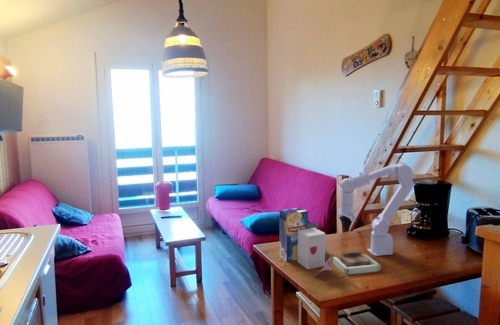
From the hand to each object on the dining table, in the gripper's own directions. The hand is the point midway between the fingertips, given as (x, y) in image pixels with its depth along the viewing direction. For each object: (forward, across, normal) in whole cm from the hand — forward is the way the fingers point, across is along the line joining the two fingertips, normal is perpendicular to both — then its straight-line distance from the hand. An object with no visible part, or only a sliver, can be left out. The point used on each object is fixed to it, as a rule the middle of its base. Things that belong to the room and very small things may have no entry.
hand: (345, 231), depth 175 cm
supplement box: (+10, +12, -22) cm, 27 cm away
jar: (+10, -5, -16) cm, 19 cm away
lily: (+10, +24, -20) cm, 32 cm away
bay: (+9, +18, -4) cm, 20 cm away
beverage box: (+10, +2, -27) cm, 29 cm away
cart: (+10, +18, -4) cm, 21 cm away
